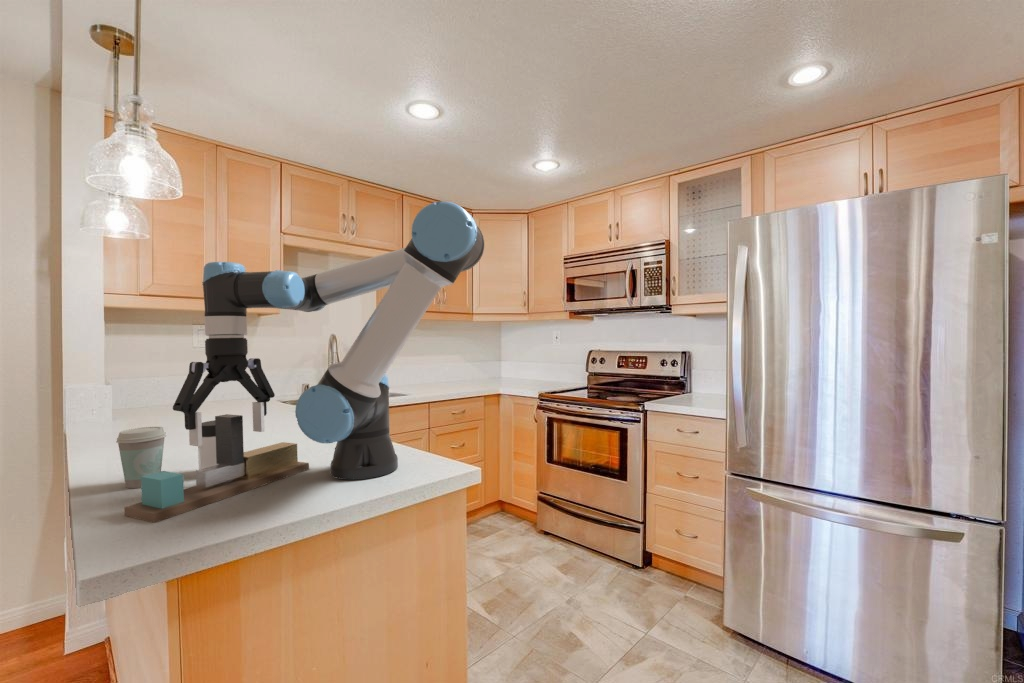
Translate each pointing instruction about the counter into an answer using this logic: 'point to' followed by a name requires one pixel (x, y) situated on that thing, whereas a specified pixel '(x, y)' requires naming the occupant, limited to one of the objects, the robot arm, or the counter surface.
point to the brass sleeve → (269, 459)
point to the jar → (207, 446)
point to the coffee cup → (140, 453)
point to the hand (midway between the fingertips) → (229, 438)
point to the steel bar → (225, 452)
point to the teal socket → (162, 489)
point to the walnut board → (210, 494)
